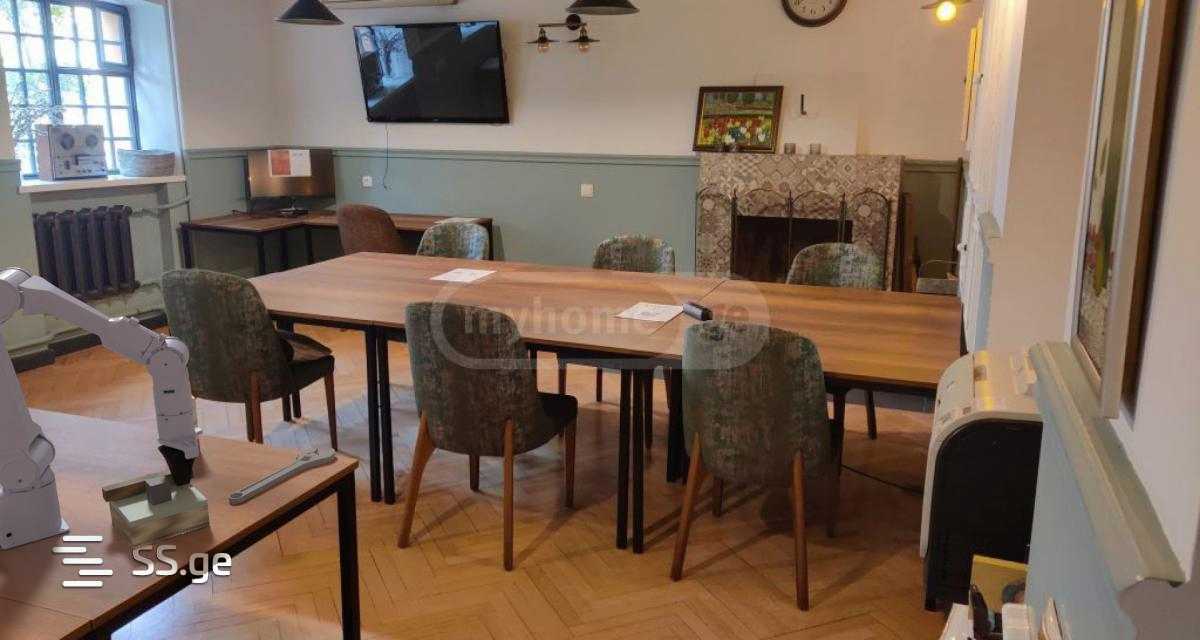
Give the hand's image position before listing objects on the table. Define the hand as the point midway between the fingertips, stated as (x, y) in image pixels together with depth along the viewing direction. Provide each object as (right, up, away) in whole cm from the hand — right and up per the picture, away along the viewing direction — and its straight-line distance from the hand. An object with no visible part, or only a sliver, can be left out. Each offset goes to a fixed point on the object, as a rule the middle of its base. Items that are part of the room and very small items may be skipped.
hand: (182, 483), depth 150 cm
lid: (-3, -4, -3) cm, 5 cm away
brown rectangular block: (-5, -1, -1) cm, 5 cm away
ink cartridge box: (-14, +2, +29) cm, 32 cm away
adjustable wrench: (+11, -2, +17) cm, 21 cm away
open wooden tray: (-3, -7, -2) cm, 7 cm away
